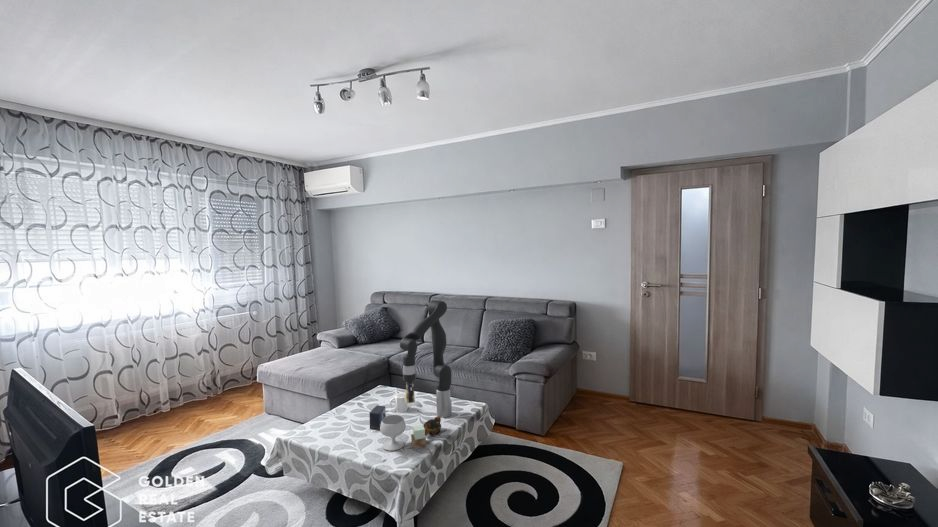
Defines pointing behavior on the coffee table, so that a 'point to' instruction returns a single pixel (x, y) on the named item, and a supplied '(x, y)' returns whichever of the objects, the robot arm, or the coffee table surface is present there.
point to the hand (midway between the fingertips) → (410, 400)
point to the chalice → (393, 431)
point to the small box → (377, 417)
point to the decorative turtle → (432, 426)
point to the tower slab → (418, 442)
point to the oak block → (408, 397)
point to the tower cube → (419, 432)
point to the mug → (399, 402)
